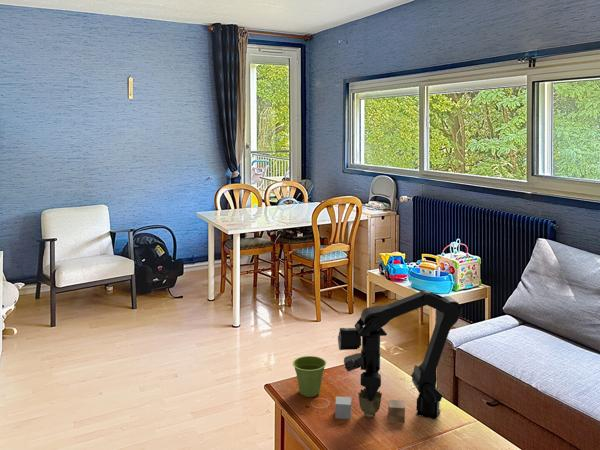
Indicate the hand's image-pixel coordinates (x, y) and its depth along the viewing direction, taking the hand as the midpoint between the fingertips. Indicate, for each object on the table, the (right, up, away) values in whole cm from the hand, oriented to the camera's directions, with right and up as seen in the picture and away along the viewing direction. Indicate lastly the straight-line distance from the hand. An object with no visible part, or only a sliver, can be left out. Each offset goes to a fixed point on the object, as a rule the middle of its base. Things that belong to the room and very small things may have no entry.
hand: (370, 394), depth 170 cm
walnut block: (+8, -8, 0) cm, 11 cm away
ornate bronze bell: (0, -8, +1) cm, 8 cm away
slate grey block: (-9, -8, +2) cm, 12 cm away
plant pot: (-19, -5, +17) cm, 26 cm away
